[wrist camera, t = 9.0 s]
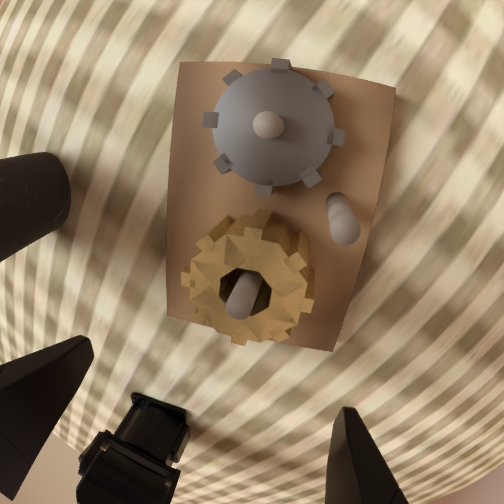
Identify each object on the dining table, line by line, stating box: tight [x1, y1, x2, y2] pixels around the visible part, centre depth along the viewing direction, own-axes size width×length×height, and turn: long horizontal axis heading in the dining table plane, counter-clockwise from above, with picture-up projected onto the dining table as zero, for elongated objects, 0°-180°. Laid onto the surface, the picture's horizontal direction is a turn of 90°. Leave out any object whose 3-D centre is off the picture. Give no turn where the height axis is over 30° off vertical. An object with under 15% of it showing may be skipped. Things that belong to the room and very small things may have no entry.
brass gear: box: [181, 208, 315, 346], centre depth 16 cm, size 7×7×4 cm
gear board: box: [166, 58, 396, 352], centre depth 15 cm, size 12×17×6 cm
